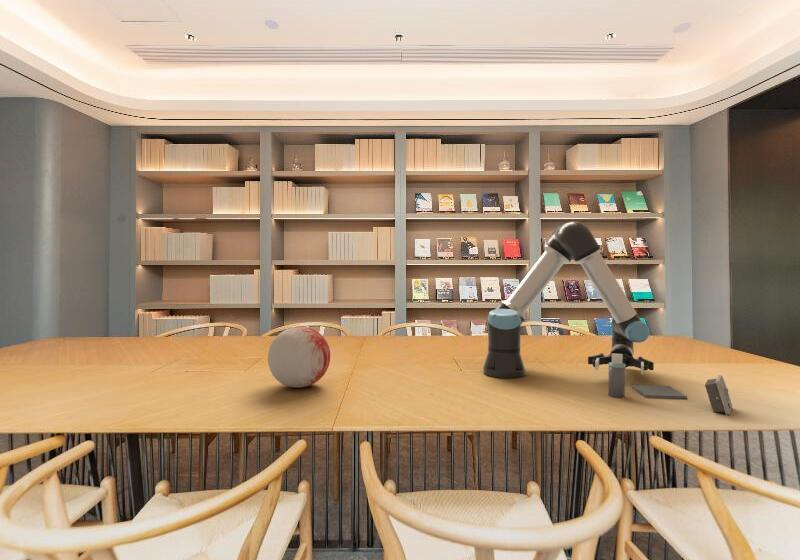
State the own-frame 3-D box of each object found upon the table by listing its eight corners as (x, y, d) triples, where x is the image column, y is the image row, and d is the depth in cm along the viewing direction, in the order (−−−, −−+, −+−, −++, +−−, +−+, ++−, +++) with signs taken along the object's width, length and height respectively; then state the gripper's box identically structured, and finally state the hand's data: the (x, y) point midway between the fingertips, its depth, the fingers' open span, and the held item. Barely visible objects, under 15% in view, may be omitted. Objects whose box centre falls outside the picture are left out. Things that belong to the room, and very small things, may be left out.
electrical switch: (729, 416, 127) (726, 381, 127) (707, 414, 130) (704, 380, 130) (732, 407, 134) (729, 375, 134) (710, 406, 137) (707, 374, 137)
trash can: (607, 396, 145) (608, 354, 144) (608, 392, 149) (609, 352, 149) (624, 398, 143) (625, 356, 142) (625, 394, 147) (626, 353, 146)
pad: (644, 397, 144) (645, 394, 144) (630, 387, 156) (631, 384, 156) (687, 399, 142) (687, 396, 142) (669, 388, 154) (669, 386, 154)
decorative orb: (301, 376, 170) (301, 321, 170) (342, 384, 159) (342, 325, 158) (253, 389, 153) (252, 328, 152) (295, 399, 142) (295, 333, 141)
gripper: (660, 369, 167) (662, 383, 148) (584, 363, 178) (578, 375, 159) (660, 348, 166) (662, 360, 147) (585, 343, 178) (578, 353, 159)
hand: (618, 367), depth 153 cm, fingers open, 13 cm apart
